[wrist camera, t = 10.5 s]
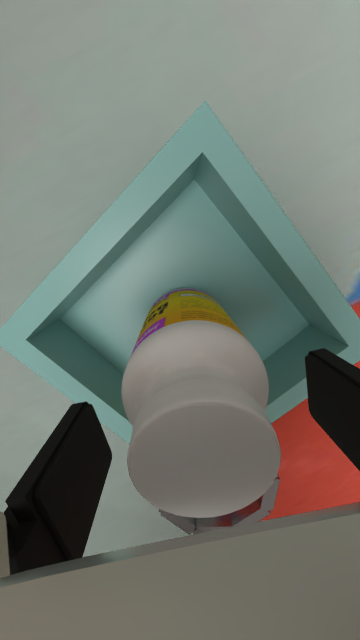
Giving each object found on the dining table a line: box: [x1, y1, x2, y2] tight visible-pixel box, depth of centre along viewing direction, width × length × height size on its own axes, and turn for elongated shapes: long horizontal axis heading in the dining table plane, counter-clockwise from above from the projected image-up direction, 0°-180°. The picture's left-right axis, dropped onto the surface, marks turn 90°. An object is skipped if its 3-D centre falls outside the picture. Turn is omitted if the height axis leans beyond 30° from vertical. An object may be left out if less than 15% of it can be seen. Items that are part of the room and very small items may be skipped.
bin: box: [0, 101, 360, 444], centre depth 17 cm, size 18×18×6 cm
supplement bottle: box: [121, 288, 281, 518], centre depth 13 cm, size 7×7×13 cm
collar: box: [159, 473, 280, 535], centre depth 25 cm, size 13×13×2 cm
